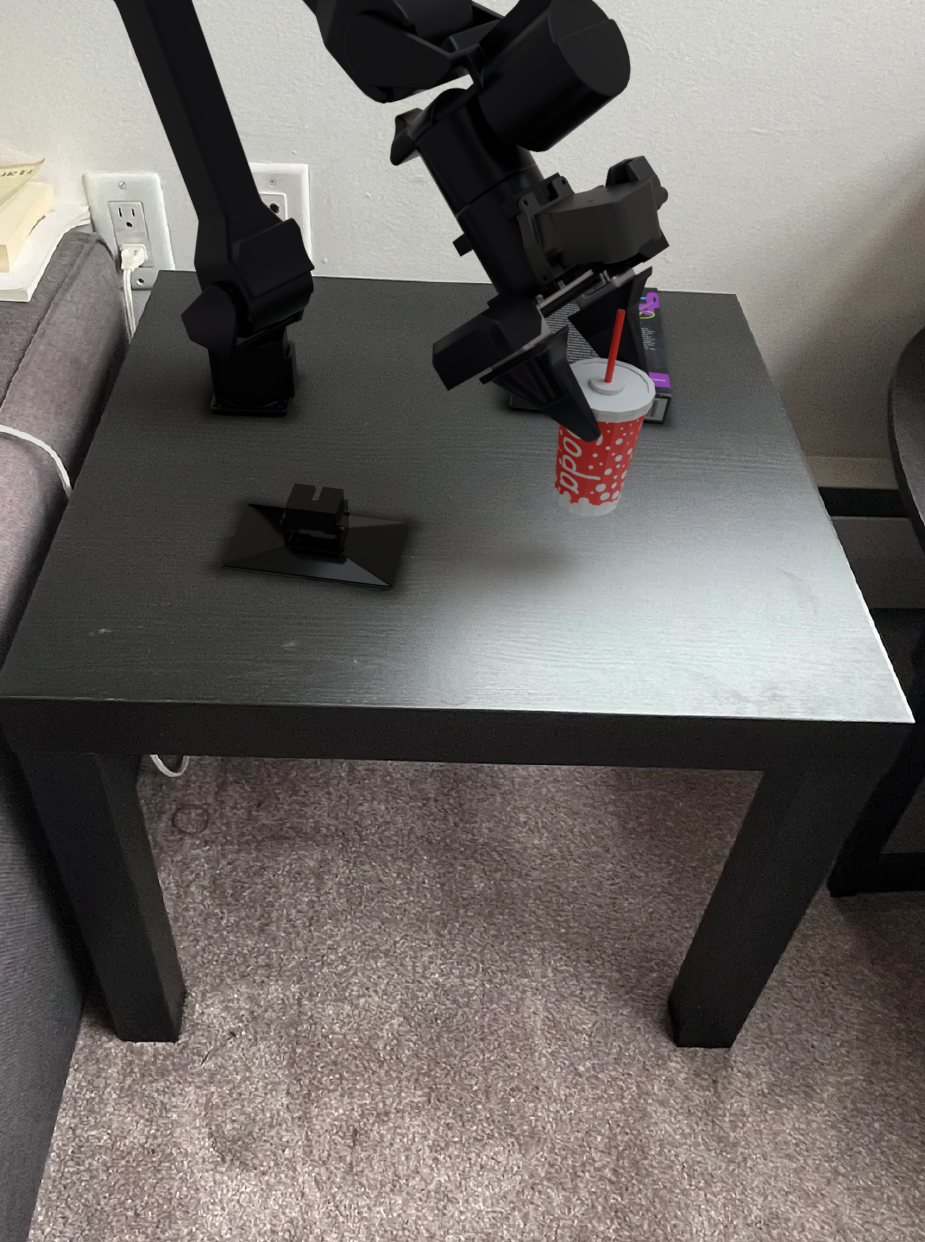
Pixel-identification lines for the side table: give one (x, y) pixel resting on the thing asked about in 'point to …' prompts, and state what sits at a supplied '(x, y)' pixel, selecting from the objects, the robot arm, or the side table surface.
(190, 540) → the side table surface
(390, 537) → the build plate
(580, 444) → the beverage cup
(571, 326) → the box
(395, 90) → the robot arm
